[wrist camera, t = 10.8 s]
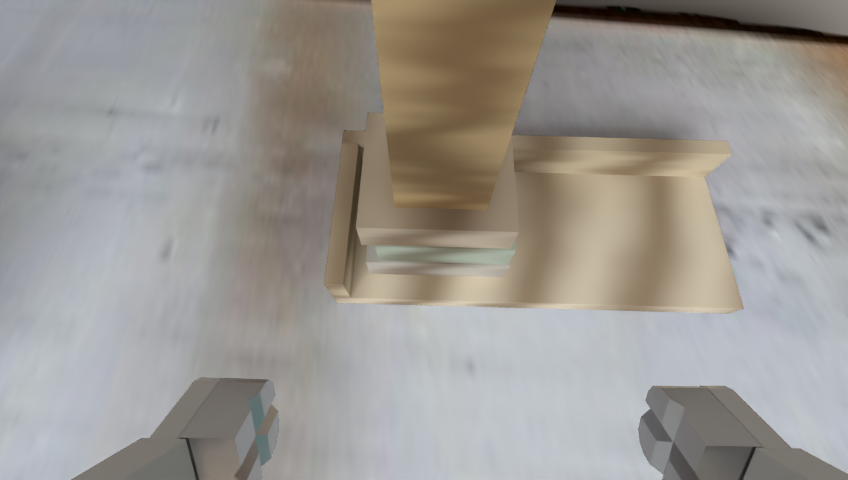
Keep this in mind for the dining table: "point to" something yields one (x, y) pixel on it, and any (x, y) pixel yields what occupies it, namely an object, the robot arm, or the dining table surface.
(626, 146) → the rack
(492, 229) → the offcut stack
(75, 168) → the dining table surface
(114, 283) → the dining table surface
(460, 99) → the oak post
